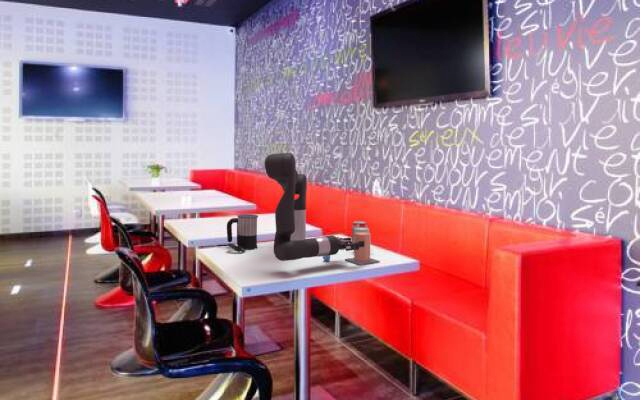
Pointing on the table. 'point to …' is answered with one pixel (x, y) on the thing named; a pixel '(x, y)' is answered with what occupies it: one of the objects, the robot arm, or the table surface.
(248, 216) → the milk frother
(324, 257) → the marble
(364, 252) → the cup terracotta
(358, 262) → the mat
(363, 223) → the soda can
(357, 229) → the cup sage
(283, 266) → the table surface
